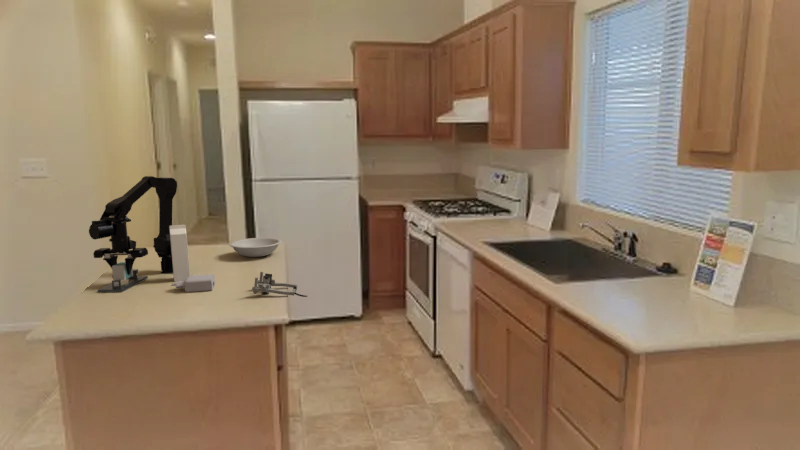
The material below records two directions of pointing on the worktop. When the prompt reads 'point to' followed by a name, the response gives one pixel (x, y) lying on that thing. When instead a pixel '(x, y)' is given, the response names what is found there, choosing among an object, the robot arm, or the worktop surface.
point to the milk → (179, 252)
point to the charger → (197, 283)
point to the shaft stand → (123, 283)
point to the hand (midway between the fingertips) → (123, 274)
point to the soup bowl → (255, 246)
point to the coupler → (121, 271)
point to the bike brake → (268, 282)
